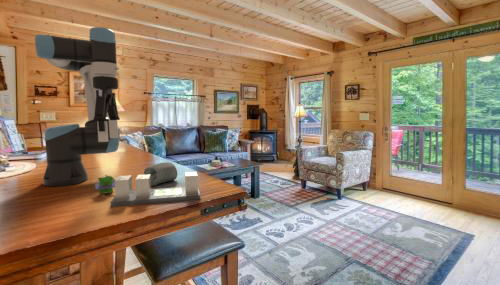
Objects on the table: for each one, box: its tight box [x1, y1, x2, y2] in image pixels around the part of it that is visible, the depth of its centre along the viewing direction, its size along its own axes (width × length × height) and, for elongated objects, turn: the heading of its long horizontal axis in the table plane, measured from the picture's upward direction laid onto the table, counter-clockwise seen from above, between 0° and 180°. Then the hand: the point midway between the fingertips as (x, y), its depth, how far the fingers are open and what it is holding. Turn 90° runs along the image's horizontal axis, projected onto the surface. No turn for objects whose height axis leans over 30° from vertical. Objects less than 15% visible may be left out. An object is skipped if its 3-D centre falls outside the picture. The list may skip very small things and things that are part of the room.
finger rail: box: [110, 171, 201, 208], centre depth 89 cm, size 11×27×8 cm, turn 105°
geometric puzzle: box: [94, 174, 116, 197], centre depth 93 cm, size 7×7×8 cm
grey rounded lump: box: [143, 161, 178, 187], centre depth 108 cm, size 14×10×10 cm
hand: (109, 139), depth 92 cm, fingers open, 13 cm apart
